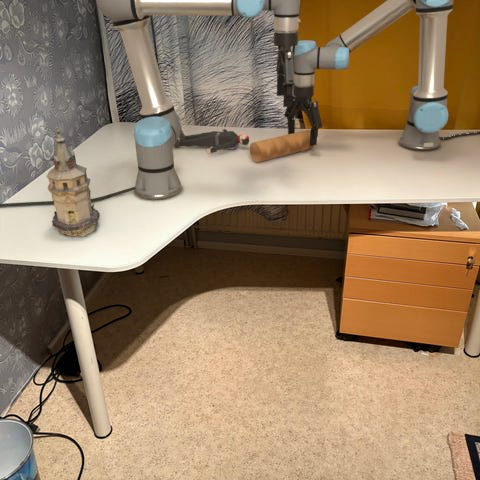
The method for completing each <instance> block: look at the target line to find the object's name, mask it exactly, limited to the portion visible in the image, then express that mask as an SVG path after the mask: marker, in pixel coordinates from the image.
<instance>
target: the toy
mask: <svg viewBox="0 0 480 480" xmlns="http://www.w3.org/2000/svg"><path fill="white" fill-rule="evenodd" d="M249 143H250V136H249V135H247V134H239V135H238V134H237V133H236V132H234V131H233V130H227V129H226V128H222V129H221V131H217V130H216V131H215V130H213V131H206V132H201V133H195V134H189V135H185V133H184V132H183V129H181V134H180V136H179V138H178V140H177V141H176V143H175V145H174V146H173V148H174V149H177V148H180V147H187V148H189V147H200V148H201V147H209V148H207V149H206V153H207V154H214V153H217V152H218V151H222V150H226V149H227V150H234V149H237V147H238V146H239V144H240V145H242V146H247V145H248V144H249Z"/></svg>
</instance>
